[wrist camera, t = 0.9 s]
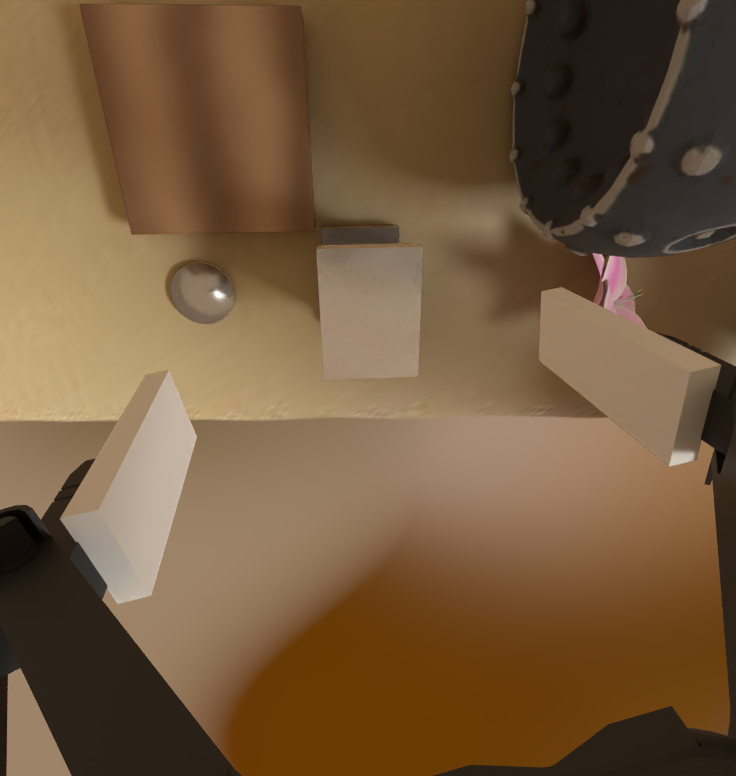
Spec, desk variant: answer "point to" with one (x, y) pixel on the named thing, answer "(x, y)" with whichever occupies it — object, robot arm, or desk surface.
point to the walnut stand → (206, 115)
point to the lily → (616, 288)
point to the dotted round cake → (627, 124)
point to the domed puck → (202, 292)
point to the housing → (369, 302)
